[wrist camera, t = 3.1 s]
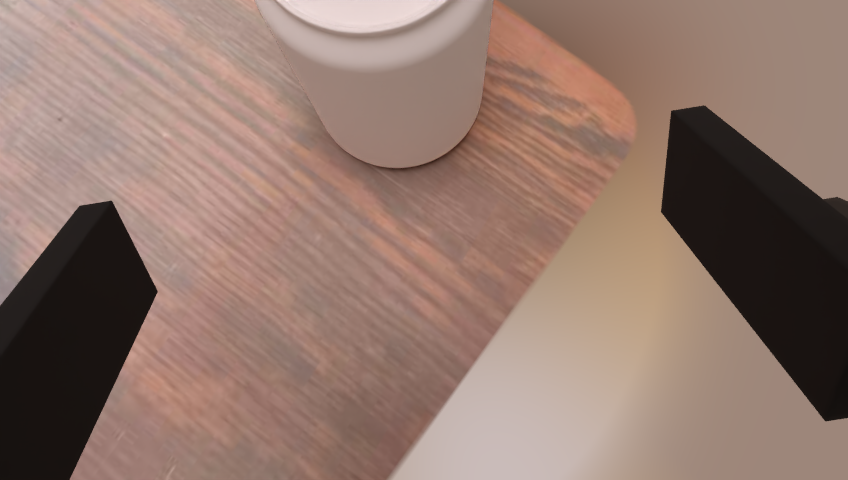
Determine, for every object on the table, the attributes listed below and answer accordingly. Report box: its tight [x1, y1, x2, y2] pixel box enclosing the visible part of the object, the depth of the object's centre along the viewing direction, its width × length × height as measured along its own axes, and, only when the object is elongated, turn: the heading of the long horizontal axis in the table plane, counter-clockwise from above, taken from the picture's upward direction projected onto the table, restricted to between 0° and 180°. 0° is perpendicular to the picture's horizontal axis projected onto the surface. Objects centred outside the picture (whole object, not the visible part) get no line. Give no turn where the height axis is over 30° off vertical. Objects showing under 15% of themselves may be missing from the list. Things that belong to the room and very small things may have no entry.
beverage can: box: [255, 0, 493, 168], centre depth 24 cm, size 8×8×12 cm
